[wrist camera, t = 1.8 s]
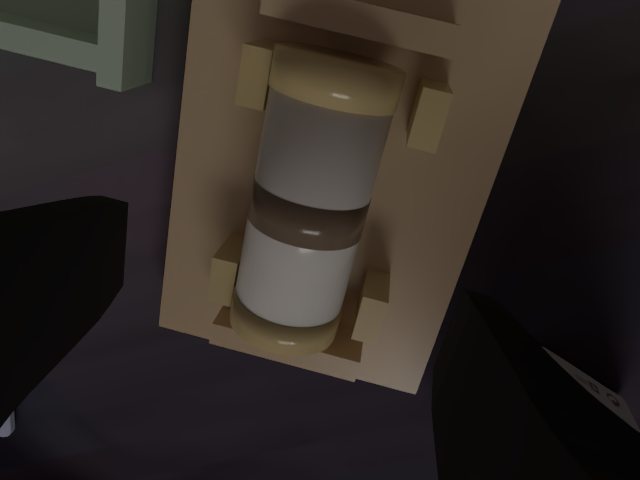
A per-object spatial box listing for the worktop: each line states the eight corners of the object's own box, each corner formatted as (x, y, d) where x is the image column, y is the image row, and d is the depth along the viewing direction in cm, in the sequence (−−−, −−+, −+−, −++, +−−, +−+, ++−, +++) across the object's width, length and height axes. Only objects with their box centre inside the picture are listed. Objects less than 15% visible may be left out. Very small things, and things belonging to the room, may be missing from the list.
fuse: (346, 313, 19) (318, 371, 16) (254, 281, 20) (210, 331, 16) (414, 68, 15) (395, 81, 12) (299, 39, 16) (253, 44, 13)
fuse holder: (415, 368, 22) (416, 433, 18) (175, 304, 22) (135, 357, 19) (550, -11, 16) (587, -13, 13) (219, -87, 16) (173, -109, 13)
